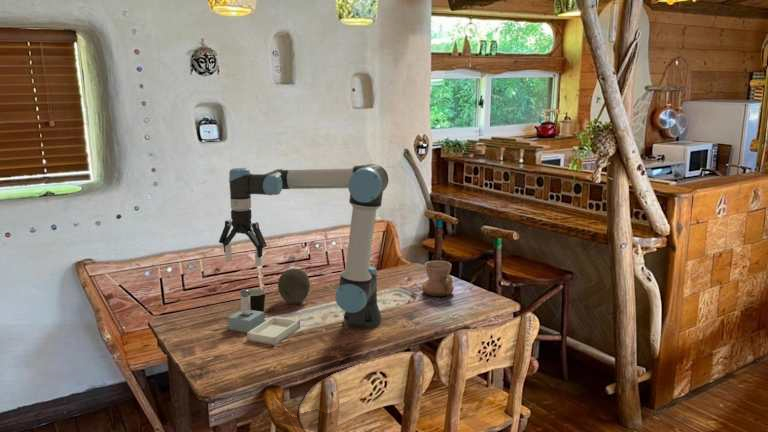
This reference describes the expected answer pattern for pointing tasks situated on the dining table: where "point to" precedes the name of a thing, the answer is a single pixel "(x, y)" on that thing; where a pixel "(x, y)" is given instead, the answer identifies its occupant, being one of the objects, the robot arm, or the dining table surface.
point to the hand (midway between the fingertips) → (243, 263)
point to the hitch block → (245, 321)
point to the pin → (245, 302)
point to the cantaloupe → (293, 285)
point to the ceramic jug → (438, 278)
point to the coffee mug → (257, 299)
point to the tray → (273, 330)
